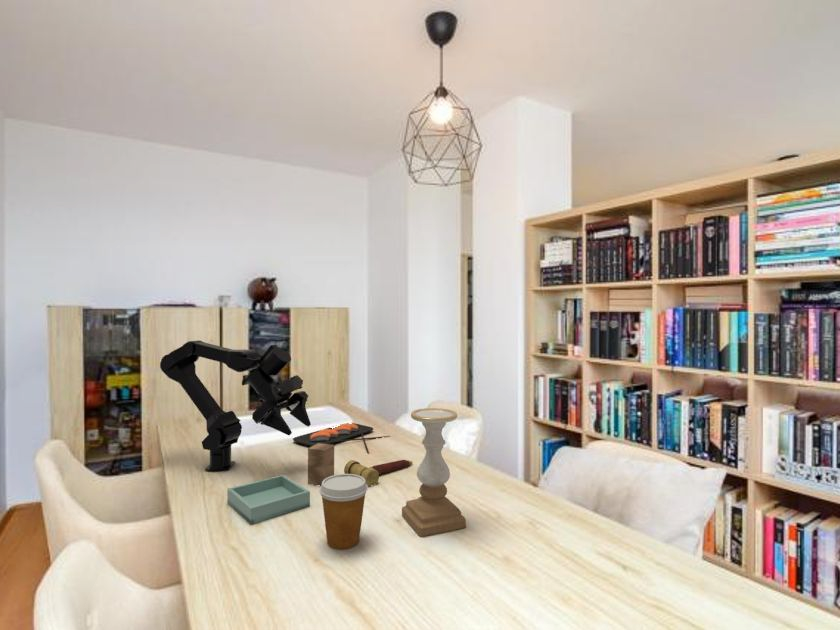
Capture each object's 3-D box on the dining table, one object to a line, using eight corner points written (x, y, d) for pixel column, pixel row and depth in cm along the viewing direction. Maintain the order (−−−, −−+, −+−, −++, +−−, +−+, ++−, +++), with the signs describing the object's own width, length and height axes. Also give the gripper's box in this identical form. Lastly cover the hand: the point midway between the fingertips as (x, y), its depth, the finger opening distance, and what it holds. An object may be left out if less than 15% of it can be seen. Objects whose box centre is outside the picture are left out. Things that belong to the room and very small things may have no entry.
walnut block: (307, 484, 120) (308, 448, 120) (317, 477, 125) (318, 443, 124) (324, 486, 118) (324, 450, 118) (334, 479, 123) (334, 445, 123)
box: (227, 503, 108) (227, 488, 108) (283, 488, 117) (283, 474, 117) (250, 524, 97) (250, 508, 97) (309, 506, 107) (309, 491, 106)
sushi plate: (349, 426, 180) (349, 417, 180) (409, 440, 162) (409, 429, 162) (288, 444, 156) (288, 433, 156) (351, 462, 139) (352, 449, 139)
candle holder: (400, 515, 103) (401, 409, 102) (444, 507, 107) (445, 405, 107) (419, 537, 93) (421, 420, 92) (467, 527, 97) (468, 416, 96)
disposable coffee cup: (375, 534, 94) (375, 476, 94) (353, 558, 85) (354, 494, 85) (334, 526, 97) (334, 470, 97) (309, 548, 88) (309, 487, 88)
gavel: (401, 450, 139) (424, 458, 132) (400, 465, 139) (423, 474, 132) (344, 461, 125) (366, 471, 118) (343, 478, 125) (364, 489, 118)
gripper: (262, 371, 116) (299, 418, 112) (302, 363, 133) (336, 403, 130) (236, 400, 118) (272, 446, 115) (279, 388, 136) (311, 428, 133)
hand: (300, 429), depth 123 cm, fingers open, 9 cm apart
